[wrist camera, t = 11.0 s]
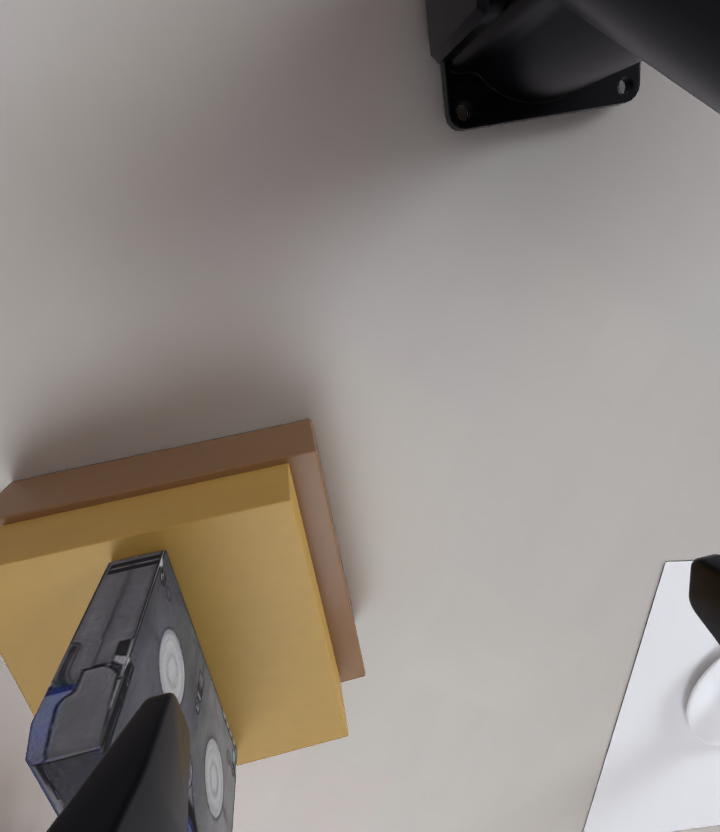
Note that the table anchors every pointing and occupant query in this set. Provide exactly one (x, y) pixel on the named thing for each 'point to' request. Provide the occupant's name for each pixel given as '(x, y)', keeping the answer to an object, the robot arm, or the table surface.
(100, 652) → the mini dv tape
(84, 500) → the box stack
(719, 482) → the table surface
